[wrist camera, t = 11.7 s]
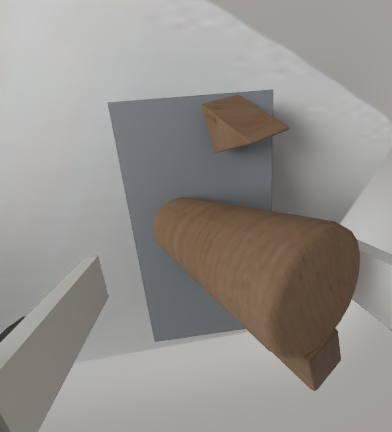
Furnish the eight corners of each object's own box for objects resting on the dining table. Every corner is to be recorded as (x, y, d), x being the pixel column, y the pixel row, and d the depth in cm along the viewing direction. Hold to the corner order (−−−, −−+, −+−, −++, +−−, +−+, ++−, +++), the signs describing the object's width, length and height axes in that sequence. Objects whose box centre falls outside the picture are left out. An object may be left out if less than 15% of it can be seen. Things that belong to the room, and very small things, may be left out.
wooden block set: (269, 288, 20) (408, 373, 11) (201, 343, 17) (320, 521, 8) (222, 103, 14) (435, -25, 5) (107, 136, 11) (159, -44, 2)
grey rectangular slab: (159, 310, 22) (154, 341, 18) (124, 116, 16) (107, 102, 12) (253, 297, 22) (268, 325, 19) (251, 105, 17) (273, 89, 13)
